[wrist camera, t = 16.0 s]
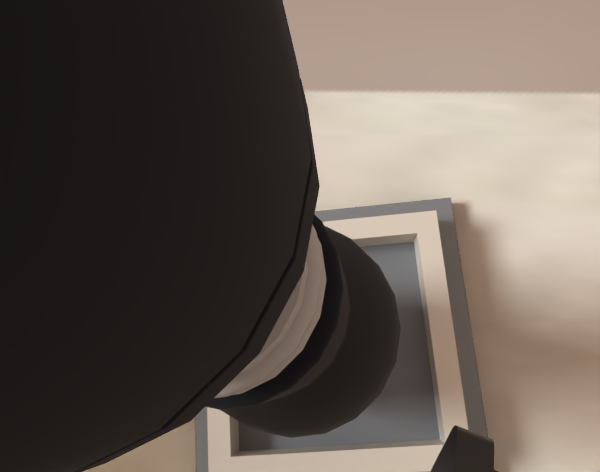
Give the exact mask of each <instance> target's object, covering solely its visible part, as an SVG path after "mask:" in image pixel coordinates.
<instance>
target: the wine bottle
mask: <svg viewBox="0 0 600 472" xmlns="http://www.w3.org/2000/svg"><path fill="white" fill-rule="evenodd" d="M318 191H319V180H318V174H317V167H316V160H315V154H314V147H313V140H312V134H311V127H310V120H309V114H308V107H307V103H306V99H305V95H304V90H303V86H302V82H301V79H300V76H299V69H298V65H297V61H296V56H295V52H294V48H293V44H292V39H291V35H290V31H289V27H288V23H287V18H286V14H285V10H284V6H283V1H282V0H0V472H82V471H85V470H87V469H90V468H93V467H96V466H99V465H102V464H104V463H107V462H109V461H111V460H113V459H115V458H117V457H119V456H121V455H123V454H125V453H127V452H129V451H131V450H133V449H135V448H137V447H139V446H141V445H143V444H145V443H147V442H149V441H151V440H153V439H155V438H157V437H159V436H161V435H163V434H165V433H167V432H169V431H171V430H173V429H175V428H177V427H179V426H181V425H183V424H185V423H187V422H189V421H191V420H192V419H193V418H194V417H195V416H196V415H197V414H198V413H199V412H200V411H201V410H202V409H203V408H204V407H209V408H214V409H218V410H221V411H223V412H224V413H226V414H227V415H229V416H231V417H232V418H234V419H236V420H237V421H239V422H241V423H242V424H244V425H245V426H247V427H249V428H250V429H254V430H257V431H261V432H266V433H271V434H275V435H280V436H285V437H289V438H294V437H302V436H310V435H318V434H325V433H327V432H329V431H331V430H334V429H336V428H338V427H340V426H342V425H344V424H346V423H348V422H350V421H352V420H354V419H356V418H357V417H358V416H359V415H360V414H361V413H362V412H363V411H364V410H365V409H366V408H367V407H368V406H369V405H370V404H371V403H372V402H373V401H374V400H375V399H376V398H377V397H378V396H379V395H380V394H381V392H382V390H383V388H384V386H385V384H386V382H387V380H388V378H389V376H390V374H391V372H392V369H393V367H394V365H395V363H396V359H397V352H398V345H399V337H400V330H401V326H400V321H399V315H398V310H397V304H396V299H395V294H394V292H393V291H392V289H391V287H390V285H389V283H388V281H387V279H386V277H385V276H384V274H383V272H382V270H381V268H380V266H379V265H378V264H377V263H376V262H375V261H374V260H373V259H372V258H371V257H370V256H369V255H367V254H366V253H365V252H364V251H363V250H362V249H361V248H360V247H359V246H358V245H357V244H356V243H355V242H354V241H353V240H352V239H351V238H349V237H347V236H345V235H343V234H341V233H339V232H337V231H335V230H333V229H330V228H328V227H326V226H324V224H323V222H322V221H321V220H320V219H319V218H318V217H317V216H316V215H315V214H314V213H315V208H316V202H317V197H318Z"/></svg>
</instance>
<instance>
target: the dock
mask: <svg viewBox="0 0 600 472" xmlns="http://www.w3.org/2000/svg"><path fill="white" fill-rule="evenodd" d="M314 214H315V215H316V216H317V217H318V218H319V219H320V220H321V221H322V222H323V224H324V226H326V227H328V228H330V229H333V230H335V231H337V232H339V233H341V234H343V235H345V236H347V237H349V238H351V239H352V240H353V241H354V242H355V243H356V244H357V245H358V246H359V247H360V248H361V249H362V250H363V251H364V252H365V253H366V254H367V255H369V256H370V257H371V258H372V259H373V260H374V261H375V262H376V263H377V264H378V265H379V266H380V268H381V270H382V272H383V274H384V276H385V277H386V279H387V281H388V283H389V285H390V287H391V289H392V291H393V292H394V294H395V299H396V304H397V310H398V315H399V321H400V326H401V330H400V337H399V345H398V352H397V359H396V363H395V365H394V367H393V369H392V372H391V374H390V376H389V378H388V380H387V382H386V384H385V386H384V388H383V390H382V392H381V394H380V395H379V396H378V397H377V398H376V399H375V400H374V401H373V402H372V403H371V404H370V405H369V406H368V407H367V408H366V409H365V410H364V411H363V412H362V413H361V414H360V415H359V416H358V417H357V418H356V419H354V420H352V421H350V422H348V423H346V424H344V425H342V426H340V427H338V428H336V429H334V430H331V431H329V432H327V433H325V434H318V435H310V436H302V437H294V438H289V437H285V436H280V435H275V434H271V433H266V432H261V431H257V430H254V429H250V428H249V427H247V426H245V425H244V424H242V423H241V422H239V421H237V420H236V419H234V418H232V417H231V416H229V415H227V414H226V413H224V412H223V411H221V410H218V409H214V408H209V407H204V408H203V409H202V410H201V411H200V412H199V413H198V414H197V415H196V416H195V431H196V472H431V469H432V467H433V465H434V463H435V461H436V459H437V457H438V455H439V453H440V451H441V449H442V448H443V446H444V444H445V442H446V440H447V438H448V436H449V434H450V432H451V430H452V428H453V427H454V426H455V425H457V426H459V427H462V428H464V429H467V430H469V431H472V432H475V433H477V434H480V435H482V436H485V437H487V438H488V435H487V429H486V422H485V416H484V410H483V403H482V397H481V390H480V384H479V377H478V371H477V365H476V358H475V352H474V345H473V339H472V332H471V326H470V320H469V313H468V307H467V300H466V294H465V287H464V281H463V274H462V268H461V262H460V255H459V249H458V242H457V236H456V229H455V223H454V217H453V210H452V204H451V198H443V199H433V200H423V201H413V202H403V203H394V204H384V205H374V206H364V207H355V208H345V209H335V210H325V211H315V213H314Z"/></svg>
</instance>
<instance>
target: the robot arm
mask: <svg viewBox="0 0 600 472" xmlns="http://www.w3.org/2000/svg"><path fill="white" fill-rule="evenodd" d="M431 472H498V471H495V470H494V442H493V440H492V439H490V438H487V437H485V436H482V435H480V434H477V433H475V432H472V431H469V430H467V429H464V428H462V427H459V426H457V425H455V426H454V427H453V428H452V430H451V432H450V434H449V436H448V438H447V440H446V442H445V444H444V446H443V448H442V449H441V451H440V453H439V455H438V457H437V459H436V461H435V463H434V465H433V467H432V469H431Z"/></svg>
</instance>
